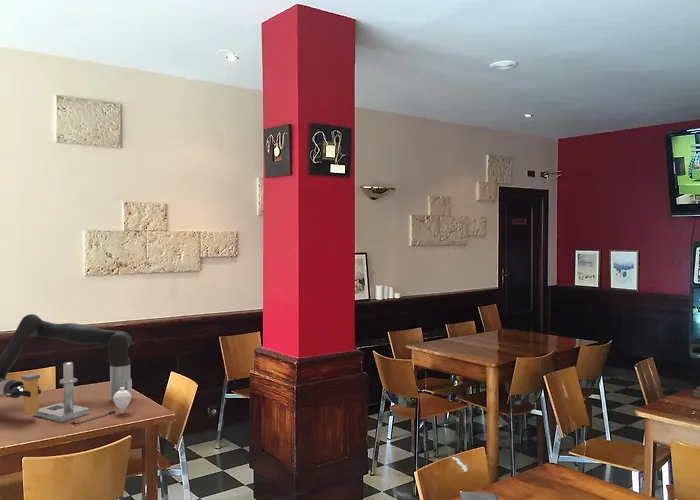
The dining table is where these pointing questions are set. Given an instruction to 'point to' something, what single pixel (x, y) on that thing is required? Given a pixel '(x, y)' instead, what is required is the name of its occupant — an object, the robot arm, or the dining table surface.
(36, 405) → the yellow lidded box
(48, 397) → the dining table surface
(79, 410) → the grey peg stand
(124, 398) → the spinning top
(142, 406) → the dining table surface
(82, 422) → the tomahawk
